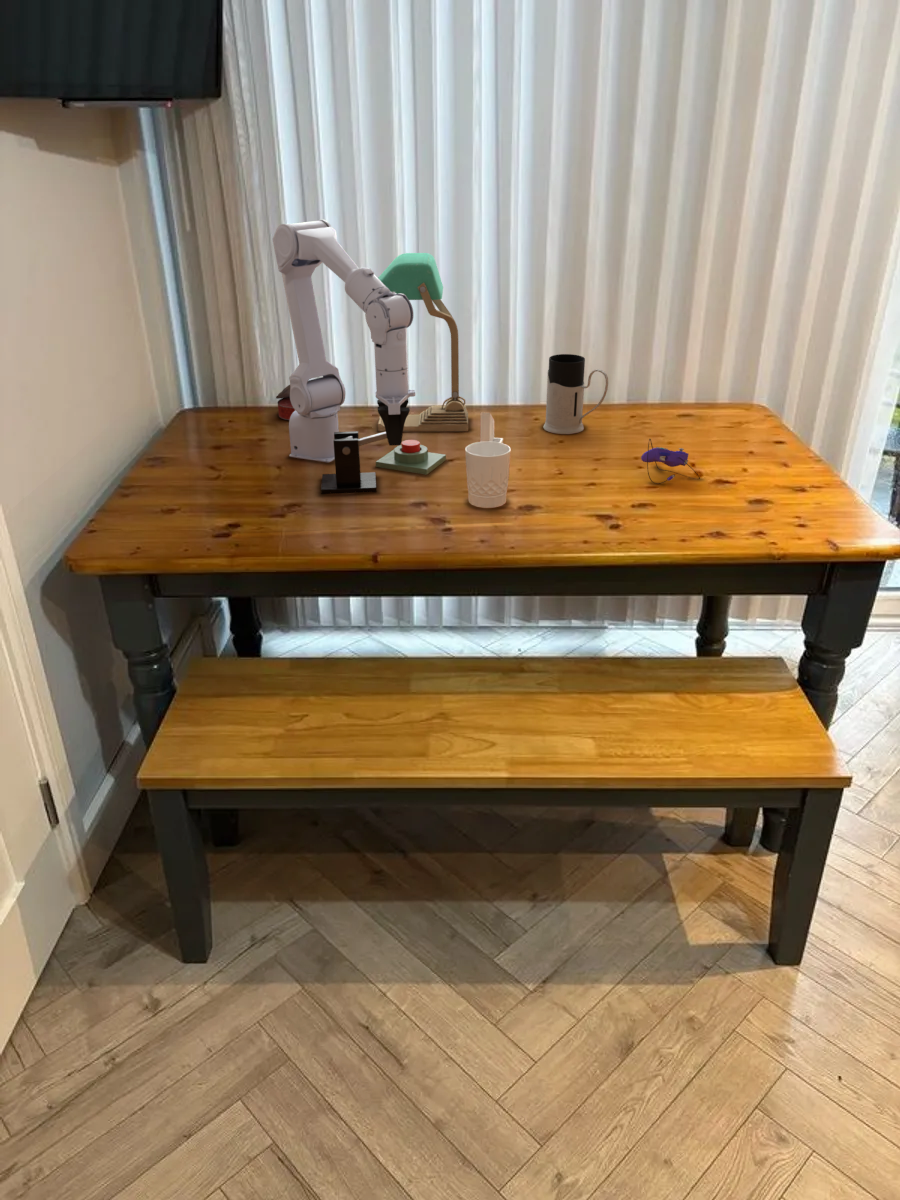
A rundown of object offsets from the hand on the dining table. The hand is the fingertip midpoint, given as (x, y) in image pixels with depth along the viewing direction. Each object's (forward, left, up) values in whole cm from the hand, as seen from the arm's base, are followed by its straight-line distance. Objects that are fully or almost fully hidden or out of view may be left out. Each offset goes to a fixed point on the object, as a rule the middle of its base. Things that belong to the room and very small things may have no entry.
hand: (394, 441), depth 173 cm
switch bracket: (-8, -4, -8) cm, 12 cm away
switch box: (-2, +11, -8) cm, 14 cm away
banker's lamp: (-11, +34, -9) cm, 37 cm away
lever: (-4, -2, -1) cm, 4 cm away
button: (-2, +11, -6) cm, 12 cm away
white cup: (+19, -1, -9) cm, 21 cm away
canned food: (-40, +31, -9) cm, 51 cm away
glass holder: (+21, +44, -9) cm, 49 cm away
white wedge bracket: (+11, +21, -9) cm, 25 cm away
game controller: (+46, +24, -9) cm, 52 cm away
